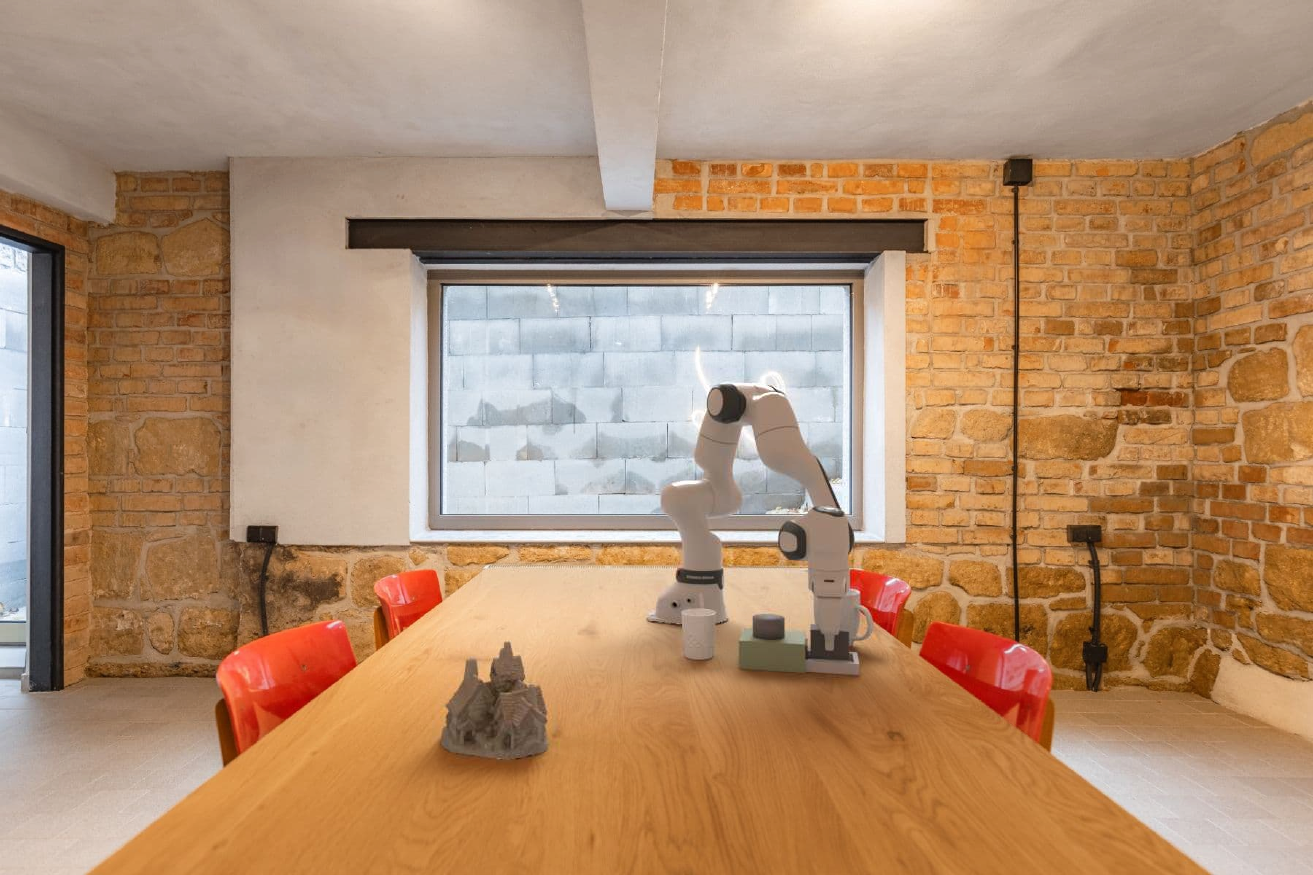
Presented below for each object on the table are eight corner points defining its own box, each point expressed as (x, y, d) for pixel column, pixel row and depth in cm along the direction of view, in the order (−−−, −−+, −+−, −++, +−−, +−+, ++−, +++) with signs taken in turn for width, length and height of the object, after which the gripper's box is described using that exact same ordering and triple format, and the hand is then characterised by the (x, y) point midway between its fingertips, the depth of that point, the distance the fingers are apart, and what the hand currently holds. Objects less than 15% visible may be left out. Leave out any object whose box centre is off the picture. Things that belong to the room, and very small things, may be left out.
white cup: (716, 651, 162) (716, 608, 162) (715, 661, 154) (715, 616, 154) (682, 650, 163) (682, 607, 163) (680, 660, 155) (680, 615, 155)
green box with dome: (738, 668, 149) (738, 621, 149) (744, 654, 159) (743, 610, 160) (859, 676, 143) (859, 628, 143) (856, 661, 154) (856, 616, 154)
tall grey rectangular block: (849, 659, 147) (848, 631, 147) (810, 657, 148) (810, 629, 149) (848, 653, 151) (847, 625, 152) (810, 651, 153) (810, 623, 153)
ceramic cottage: (437, 730, 115) (442, 641, 114) (534, 720, 121) (539, 635, 121) (446, 777, 100) (452, 674, 100) (557, 762, 107) (562, 665, 106)
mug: (884, 648, 164) (883, 593, 165) (860, 657, 157) (859, 599, 157) (829, 636, 175) (829, 584, 176) (804, 644, 168) (804, 590, 168)
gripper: (814, 573, 161) (814, 632, 161) (813, 589, 141) (814, 657, 141) (842, 574, 160) (842, 634, 159) (845, 590, 140) (846, 659, 139)
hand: (829, 645), depth 150 cm, fingers closed on tall grey rectangular block, 5 cm apart
